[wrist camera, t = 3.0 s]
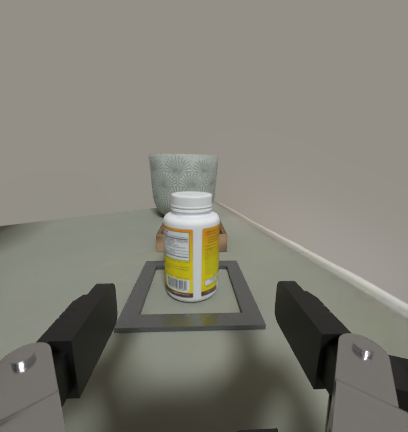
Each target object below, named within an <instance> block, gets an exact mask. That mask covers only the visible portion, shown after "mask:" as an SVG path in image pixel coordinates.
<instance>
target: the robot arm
mask: <svg viewBox="0 0 408 432" xmlns="http://www.w3.org/2000/svg"><path fill="white" fill-rule="evenodd" d="M275 316H276V320H277V323H278V325H279V326H280V328H281V330H282V332H283V334H284V336H285V337H286V339H287V341H288V343H289V345H290V347H291V348H292V350H293V352H294V354H295V356H296V358H297V359H298V361H299V363H300V365H301V367H302V368H303V370H304V372H305V374H306V376H307V378H308V379H309V381H310V383H311V385H312V387H313V389H326V390H327V391H328V393H329V398H328V406H327V415H326V424H325V432H408V359H405V358H400V357H396V356H391V355H388V354H387V353H386V351H385V350H384V349H383V348H382V347H381V346H379V345H378V344H377V343H375V342H374V341H372V340H370V339H368V338H366V337H364V336H361V335H358V334H352V333H351V332H350V331H349V330H348V329H347V328H346V327H345V326H344V325H343V324H342V323H341V322H340V321H339V320H338V319H337V318H336V317H335V316H334V315H333V314H332V313H331V312H330V310H329V309H328V308H327V307H326V306H324V304H323V303H322V302H321V301H320V300H319V299H318V298H317V297H316V296H314V295H312V294H311V293H309V292H307V291H303V289H302V288H301V287H300V286H299V285H298V284H297V283H296V282H295V281H279V282H278V284H277V291H276V302H275ZM116 321H117V302H116V290H115V285H114V284H113V283H111V284H96V285H95V286H94V287H93V288H92V290H91V291H90V292H89V293H88V294H87V295H82V296H81V297H79V298H78V299H76V300H75V301H73V302H72V303H71V304H70V305H69V306H68V308H67V309H66V310H65V311H64V312H63V313H62V314H61V315H60V316H59V318H58V319H57V320H56V321H55V322H54V323H53V324H52V325H51V326H50V327H49V329H48V330H47V331H46V332H45V333H44V334H43V335H42V336H41V337H40V339H39V340H38V341H37V342H36V343H31V344H28V345H25V346H22V347H20V348H18V349H16V350H14V351H12V352H11V353H9V354H8V355H6V356H5V357H4V358H3V359H2V360H1V361H0V432H66V429H65V423H64V418H63V412H62V406H63V405H64V403H65V401H66V399H69V398H80V396H81V394H82V392H83V390H84V388H85V386H86V384H87V382H88V380H89V378H90V376H91V374H92V372H93V370H94V368H95V366H96V364H97V362H98V360H99V358H100V356H101V354H102V352H103V350H104V347H105V345H106V343H107V341H108V339H109V337H110V335H111V333H112V331H113V329H114V327H115V325H116ZM238 432H278V429H277V428H275V429H256V430H240V431H238Z"/></svg>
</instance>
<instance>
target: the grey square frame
mask: <svg viewBox="0 0 408 432" xmlns="http://www.w3.org/2000/svg"><path fill="white" fill-rule="evenodd" d="M156 269H165V261H146V263H145V265H144V267H143V269H142V271H141V274H140V276H139V278H138V280H137V282H136V284H135V286H134V288H133V290H132V292H131V294H130V296H129V298H128V300H127V302H126V304H125V306H124V308H123V311H122V313H121V315H120V317H119V319H118V321H117V323H116V325H115V327H114V333H117V332H159V331H201V330H244V329H265V327H266V324H265V322H264V320H263V318H262V315H261V313H260V311H259V309H258V307H257V305H256V302H255V300H254V298H253V296H252V294H251V292H250V289H249V287H248V285H247V283H246V281H245V278H244V276H243V274H242V272H241V270H240V268H239V265H238V263H237V261H219V266H218V269H227V270H228V273H229V276H230V279H231V282H232V285H233V288H234V291H235V294H236V298H237V301H238V304H239V307H240V310H241V313H203V314H152V315H140V313H141V310H142V308H143V305H144V302H145V299H146V296H147V294H148V291H149V288H150V285H151V282H152V279H153V277H154V274H155V271H156Z"/></svg>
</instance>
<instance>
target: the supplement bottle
mask: <svg viewBox="0 0 408 432" xmlns="http://www.w3.org/2000/svg"><path fill="white" fill-rule="evenodd" d="M171 210H172V211H171V212H169V213H167V214H166V215H165V216H164V219H163V229H164V257H165V284H166V290H167V292H168V293H169V295H170V296H172V297H173V298H175V299H177V300H180V301H184V302H198V301H202V300H205V299H208V298H209V297H211V296H212V295H213V294H214V293H215V292H216V290H217V288H218V266H219V231H220V218H219V216H218V215H217V214H216V213H215V212H213V211H211V210H212V194H211V193H207V192H196V191H184V192H175V193H172V194H171Z"/></svg>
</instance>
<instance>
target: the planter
mask: <svg viewBox="0 0 408 432" xmlns="http://www.w3.org/2000/svg"><path fill="white" fill-rule="evenodd" d="M149 162H150V172H151V180H152V189H153V197H154V202H155V204H156V207H157V208H158V210H159V211H160V212H161V213H162V214H163V215H166V214H167V213H169V212H171V211H172V210H171V194H172V193H175V192H184V191H196V192H207V193H211V194H212V204H213V201H214V195H215V186H216V176H217V165H218V156H214V155H200V154H199V155H198V154H151V155H149Z"/></svg>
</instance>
